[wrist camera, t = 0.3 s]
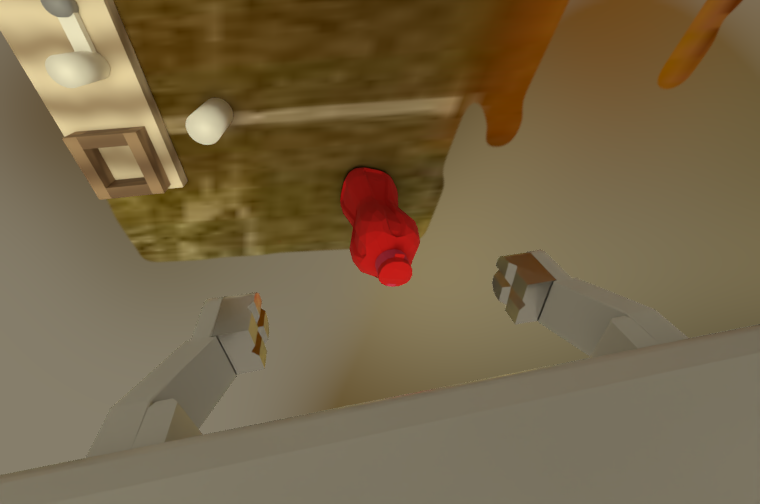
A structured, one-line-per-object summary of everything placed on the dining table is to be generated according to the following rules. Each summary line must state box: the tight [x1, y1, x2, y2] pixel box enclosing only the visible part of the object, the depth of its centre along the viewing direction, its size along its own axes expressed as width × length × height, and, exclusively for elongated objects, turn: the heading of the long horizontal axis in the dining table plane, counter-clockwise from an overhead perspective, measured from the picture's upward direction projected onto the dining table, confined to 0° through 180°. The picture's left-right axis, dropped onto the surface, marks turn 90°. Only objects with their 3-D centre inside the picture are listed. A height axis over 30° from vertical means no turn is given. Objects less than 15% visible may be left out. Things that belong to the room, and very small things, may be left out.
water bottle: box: [340, 167, 420, 286], centre depth 50 cm, size 9×11×25 cm
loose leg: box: [186, 98, 233, 145], centre depth 44 cm, size 4×4×9 cm
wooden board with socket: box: [0, 0, 188, 200], centre depth 42 cm, size 26×12×5 cm, turn 2°
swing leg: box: [40, 0, 110, 88], centre depth 36 cm, size 9×3×6 cm, turn 2°
